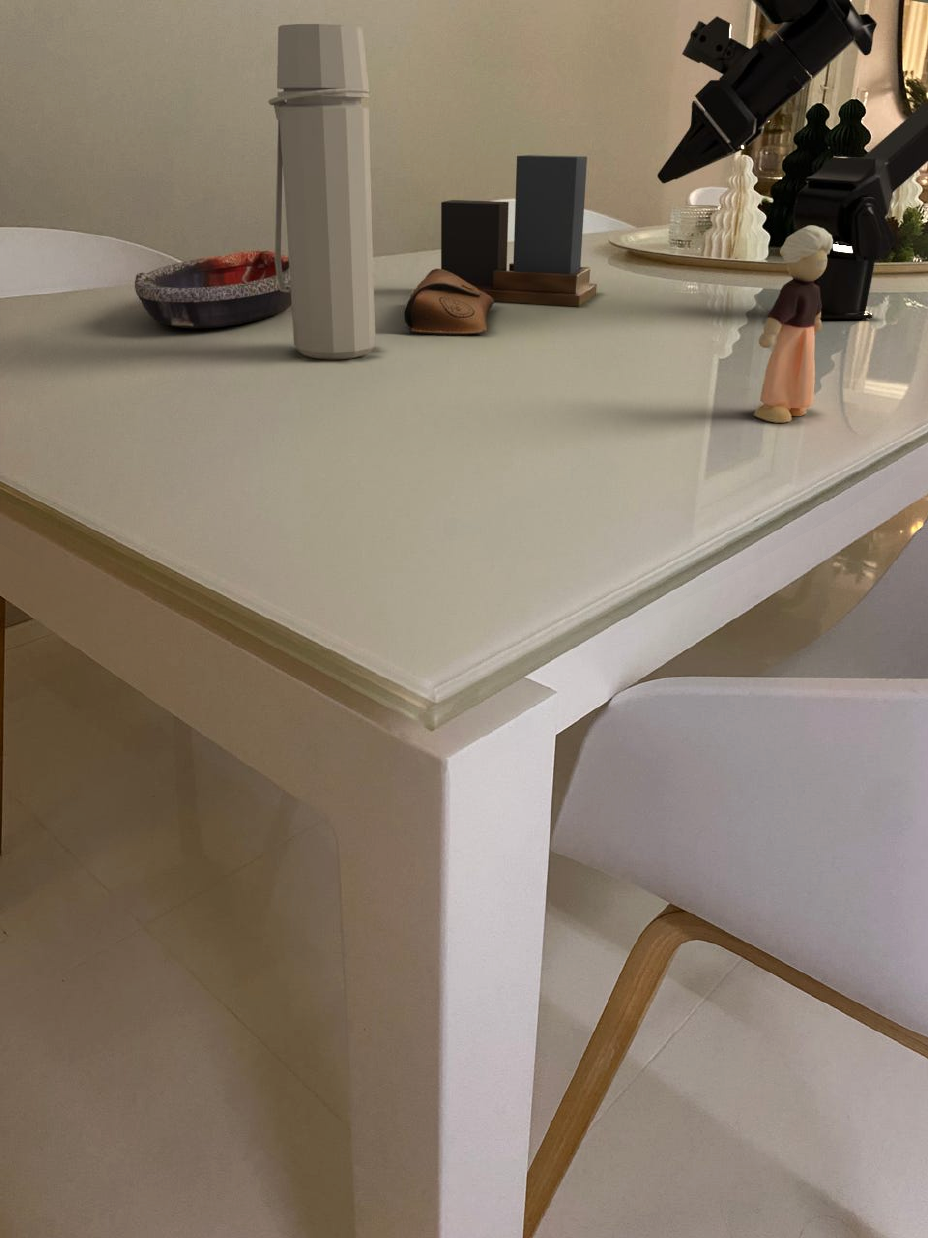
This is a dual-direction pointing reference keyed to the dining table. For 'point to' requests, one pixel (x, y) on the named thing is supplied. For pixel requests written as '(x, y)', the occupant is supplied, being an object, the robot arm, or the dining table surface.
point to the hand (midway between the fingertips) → (666, 177)
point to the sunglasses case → (447, 306)
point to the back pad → (549, 213)
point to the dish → (215, 290)
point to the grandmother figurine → (794, 328)
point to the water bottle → (325, 188)
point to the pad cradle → (500, 258)
